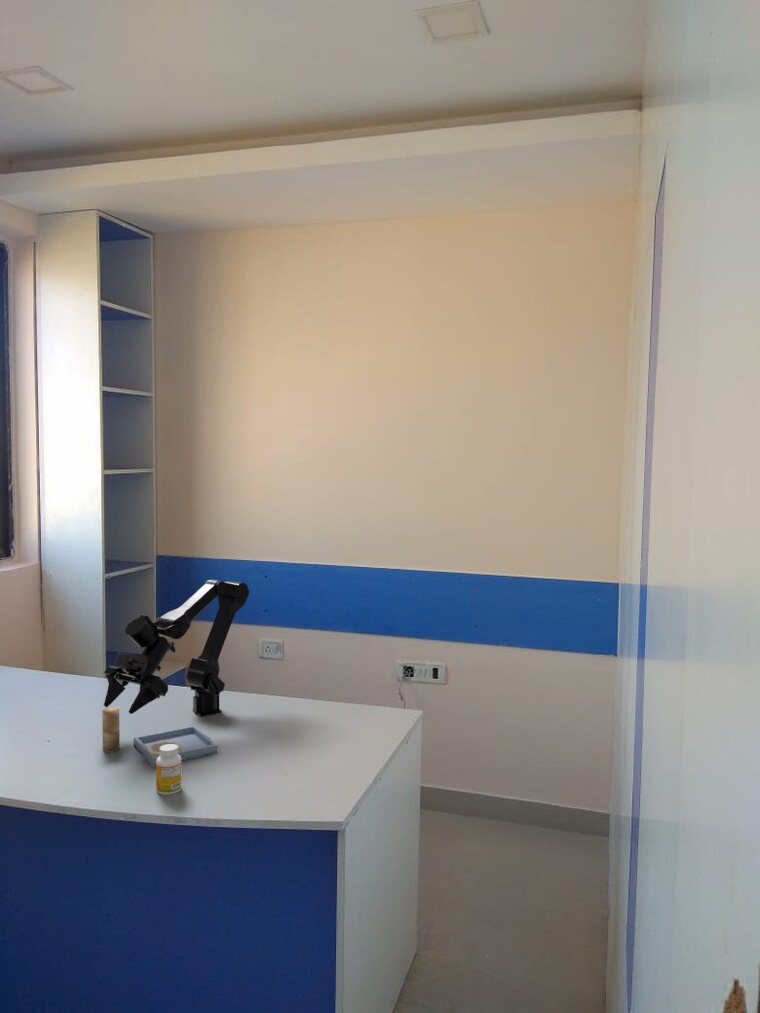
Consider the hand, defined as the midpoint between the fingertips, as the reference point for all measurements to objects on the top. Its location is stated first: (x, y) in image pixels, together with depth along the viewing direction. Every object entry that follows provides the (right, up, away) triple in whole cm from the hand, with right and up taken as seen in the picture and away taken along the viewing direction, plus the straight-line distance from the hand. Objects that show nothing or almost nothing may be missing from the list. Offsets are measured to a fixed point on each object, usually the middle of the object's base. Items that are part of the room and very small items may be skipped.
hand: (117, 709), depth 192 cm
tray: (+15, -10, -1) cm, 18 cm away
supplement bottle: (+20, -12, -24) cm, 33 cm away
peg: (-1, -10, -1) cm, 10 cm away
